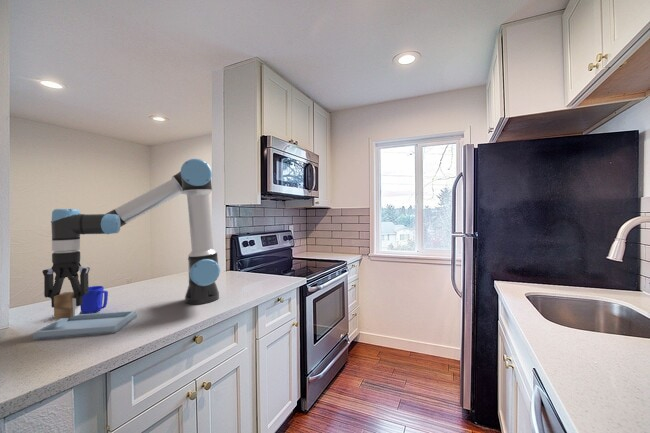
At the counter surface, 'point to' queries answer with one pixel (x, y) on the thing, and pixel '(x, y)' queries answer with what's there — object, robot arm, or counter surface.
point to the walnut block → (63, 305)
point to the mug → (94, 300)
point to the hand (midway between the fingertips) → (67, 315)
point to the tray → (86, 325)
